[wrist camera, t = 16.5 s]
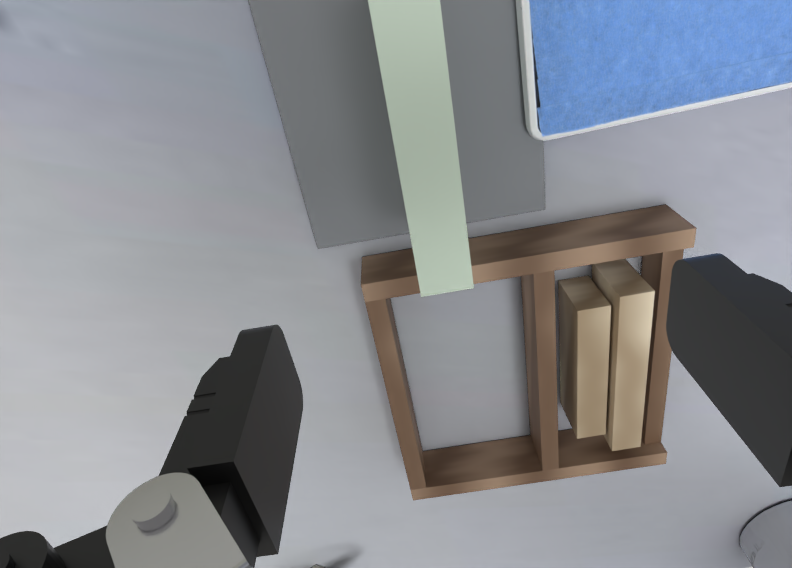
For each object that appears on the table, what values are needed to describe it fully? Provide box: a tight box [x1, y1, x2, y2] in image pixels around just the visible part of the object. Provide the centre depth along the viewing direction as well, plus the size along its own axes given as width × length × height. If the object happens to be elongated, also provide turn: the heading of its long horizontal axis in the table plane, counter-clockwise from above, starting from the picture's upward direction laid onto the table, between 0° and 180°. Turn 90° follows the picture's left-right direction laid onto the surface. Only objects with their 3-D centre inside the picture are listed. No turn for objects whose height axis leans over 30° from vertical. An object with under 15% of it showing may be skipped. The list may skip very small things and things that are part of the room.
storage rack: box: [361, 205, 696, 500], centre depth 36 cm, size 19×19×4 cm
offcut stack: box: [558, 259, 655, 451], centre depth 35 cm, size 4×13×4 cm, turn 10°
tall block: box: [368, 0, 474, 297], centre depth 24 cm, size 2×12×9 cm, turn 10°
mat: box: [248, 0, 545, 249], centre depth 29 cm, size 14×14×1 cm
